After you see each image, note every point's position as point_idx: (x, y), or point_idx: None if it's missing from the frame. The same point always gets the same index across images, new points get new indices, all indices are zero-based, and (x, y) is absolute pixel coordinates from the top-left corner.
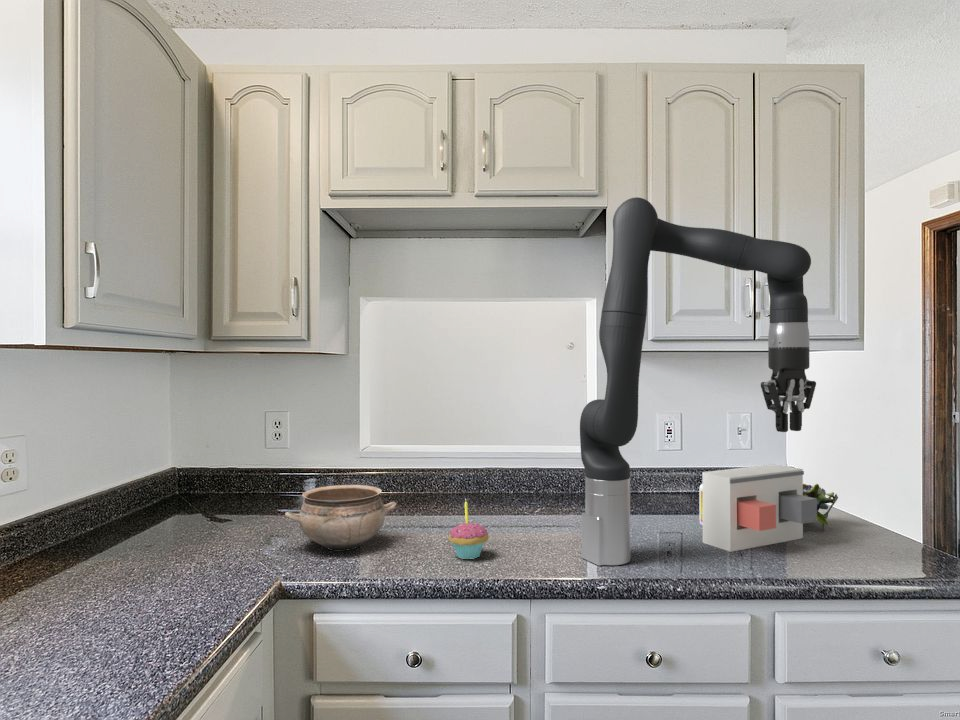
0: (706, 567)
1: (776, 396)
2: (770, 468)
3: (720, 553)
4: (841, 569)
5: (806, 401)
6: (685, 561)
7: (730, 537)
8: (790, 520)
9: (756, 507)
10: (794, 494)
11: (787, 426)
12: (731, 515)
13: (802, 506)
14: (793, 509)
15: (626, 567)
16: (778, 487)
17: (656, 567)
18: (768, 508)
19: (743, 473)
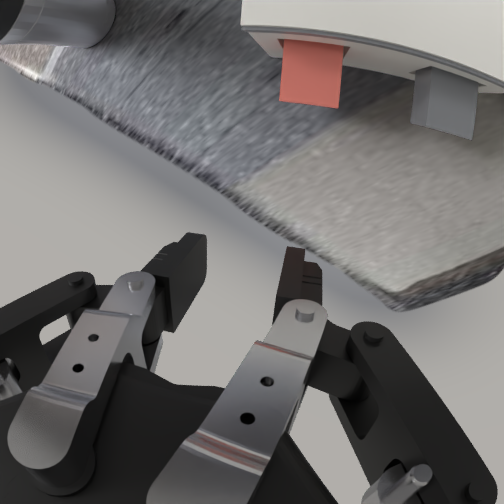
0: (171, 96)
1: (40, 375)
2: (477, 22)
3: (249, 54)
4: (341, 214)
5: (340, 415)
6: (166, 61)
7: (267, 53)
8: (413, 97)
9: (280, 92)
10: (472, 85)
11: (195, 291)
12: (263, 45)
13: (424, 126)
14: (420, 104)
15: (88, 56)
16: (434, 64)
17: (116, 68)
18: (311, 104)
19: (340, 2)
